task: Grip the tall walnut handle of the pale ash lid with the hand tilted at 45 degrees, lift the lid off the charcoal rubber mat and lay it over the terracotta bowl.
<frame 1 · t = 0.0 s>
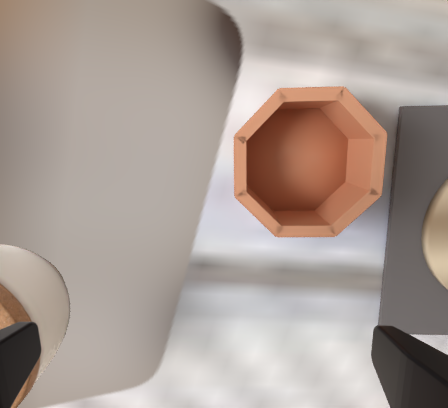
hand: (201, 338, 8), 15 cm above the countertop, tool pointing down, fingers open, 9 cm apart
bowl: (293, 160, 21), on the countertop
lidded jar: (31, 287, 25), on the countertop
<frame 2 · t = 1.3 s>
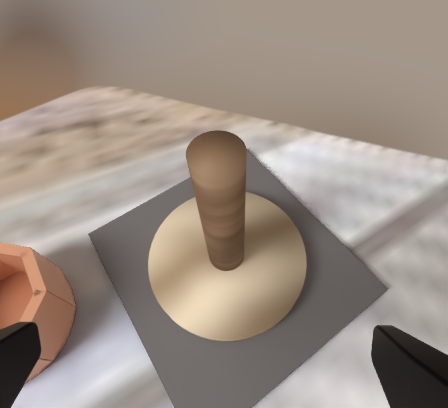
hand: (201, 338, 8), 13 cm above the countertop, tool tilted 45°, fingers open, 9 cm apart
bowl: (15, 323, 21), on the countertop
lid: (227, 259, 23), resting on mat
mat: (227, 261, 23), on the countertop
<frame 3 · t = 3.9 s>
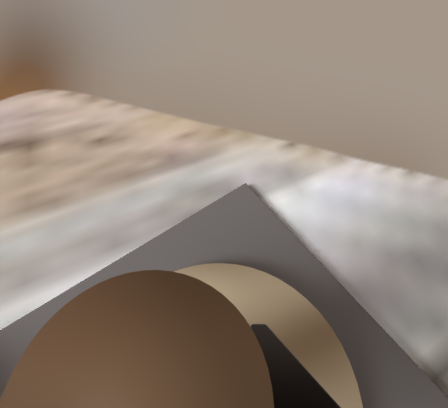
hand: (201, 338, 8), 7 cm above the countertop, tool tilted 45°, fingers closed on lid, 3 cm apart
lid: (216, 399, 13), resting on mat, touching gripper
mat: (217, 399, 13), on the countertop
when the fingers open (12 cm above the countertop, at t = 6.9 s): lid drops 1 cm, resting on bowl.
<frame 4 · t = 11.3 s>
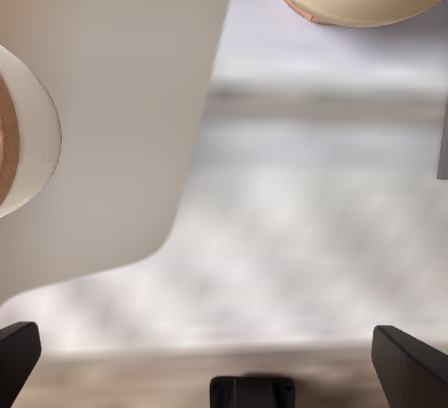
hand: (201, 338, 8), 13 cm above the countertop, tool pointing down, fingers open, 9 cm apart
lidded jar: (15, 131, 20), on the countertop
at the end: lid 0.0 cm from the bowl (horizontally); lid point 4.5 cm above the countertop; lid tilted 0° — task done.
